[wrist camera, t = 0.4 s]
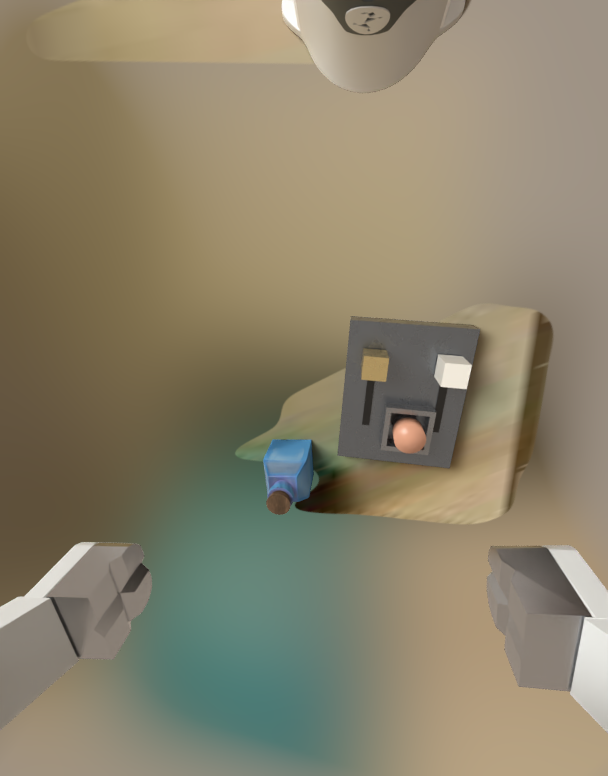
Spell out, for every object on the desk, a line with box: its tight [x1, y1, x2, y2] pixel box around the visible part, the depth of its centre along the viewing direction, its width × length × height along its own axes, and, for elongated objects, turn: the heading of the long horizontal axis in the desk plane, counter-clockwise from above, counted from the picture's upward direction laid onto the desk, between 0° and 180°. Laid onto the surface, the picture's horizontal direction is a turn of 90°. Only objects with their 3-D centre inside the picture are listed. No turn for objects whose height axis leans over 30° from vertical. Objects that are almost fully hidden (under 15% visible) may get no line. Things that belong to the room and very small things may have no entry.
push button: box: [392, 418, 426, 454], centre depth 48 cm, size 4×4×2 cm
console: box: [338, 316, 480, 468], centre depth 50 cm, size 20×16×5 cm
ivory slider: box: [434, 354, 472, 389], centre depth 45 cm, size 3×3×4 cm
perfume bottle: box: [263, 440, 314, 515], centre depth 53 cm, size 6×6×12 cm
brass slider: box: [361, 348, 389, 382], centre depth 46 cm, size 3×3×4 cm
